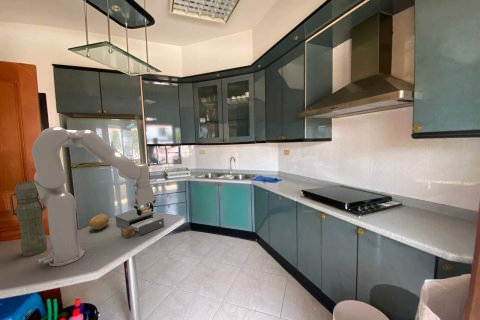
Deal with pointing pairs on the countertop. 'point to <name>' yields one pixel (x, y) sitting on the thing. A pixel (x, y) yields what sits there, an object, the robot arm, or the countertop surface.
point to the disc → (146, 210)
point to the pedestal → (128, 232)
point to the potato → (99, 221)
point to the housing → (131, 218)
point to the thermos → (29, 218)
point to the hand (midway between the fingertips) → (145, 213)
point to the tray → (147, 225)
